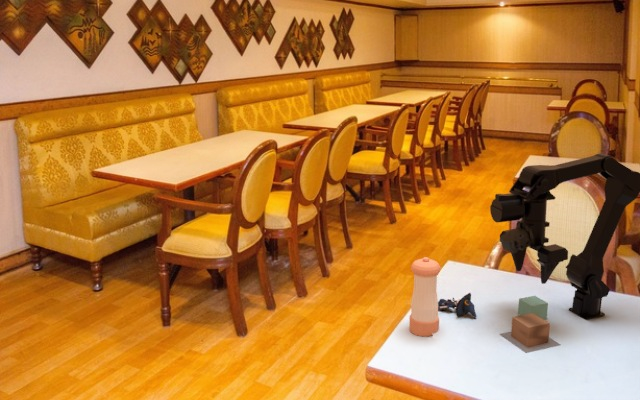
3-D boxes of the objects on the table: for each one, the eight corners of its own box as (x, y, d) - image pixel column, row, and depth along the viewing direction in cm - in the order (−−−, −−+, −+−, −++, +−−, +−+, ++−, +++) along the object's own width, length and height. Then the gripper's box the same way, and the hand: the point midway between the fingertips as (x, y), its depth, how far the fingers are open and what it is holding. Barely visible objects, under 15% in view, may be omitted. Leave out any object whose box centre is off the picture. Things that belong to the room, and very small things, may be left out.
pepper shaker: (432, 339, 147) (434, 264, 142) (404, 332, 151) (406, 259, 146) (443, 327, 153) (445, 255, 148) (416, 320, 157) (417, 250, 152)
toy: (433, 289, 169) (480, 289, 158) (438, 313, 170) (485, 315, 159) (416, 297, 164) (463, 298, 153) (421, 323, 164) (468, 326, 153)
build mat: (532, 329, 151) (532, 326, 151) (560, 347, 142) (561, 344, 142) (498, 336, 148) (498, 334, 148) (525, 355, 139) (525, 352, 139)
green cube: (533, 313, 160) (534, 295, 159) (546, 320, 156) (548, 302, 154) (517, 316, 158) (519, 298, 157) (530, 324, 154) (531, 306, 153)
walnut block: (531, 331, 149) (532, 312, 147) (548, 342, 143) (549, 323, 142) (510, 336, 146) (512, 317, 145) (527, 347, 141) (528, 327, 140)
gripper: (482, 213, 154) (481, 270, 159) (532, 233, 138) (529, 296, 142) (518, 207, 158) (516, 263, 162) (571, 225, 141) (567, 287, 145)
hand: (530, 277), depth 153 cm, fingers open, 9 cm apart
